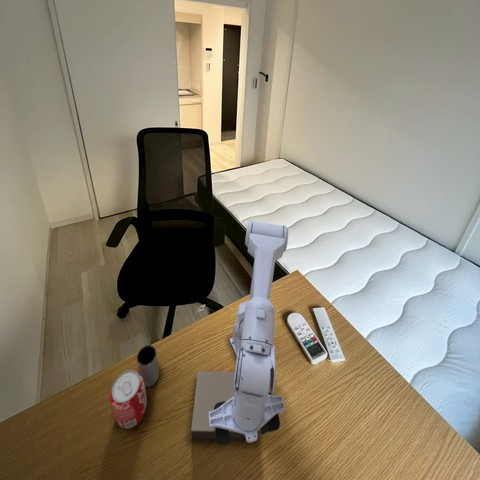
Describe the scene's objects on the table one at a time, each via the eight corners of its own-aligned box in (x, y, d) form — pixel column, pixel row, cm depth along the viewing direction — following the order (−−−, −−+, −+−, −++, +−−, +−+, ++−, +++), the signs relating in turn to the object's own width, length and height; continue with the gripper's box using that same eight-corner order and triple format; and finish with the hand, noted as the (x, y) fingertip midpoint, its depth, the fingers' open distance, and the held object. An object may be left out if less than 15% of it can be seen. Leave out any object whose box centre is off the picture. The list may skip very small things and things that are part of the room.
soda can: (140, 384, 64) (135, 359, 58) (153, 411, 59) (148, 386, 54) (111, 409, 59) (103, 384, 54) (123, 440, 54) (115, 416, 49)
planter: (137, 376, 65) (133, 354, 61) (153, 362, 68) (150, 340, 64) (146, 391, 62) (142, 370, 58) (162, 376, 65) (159, 354, 61)
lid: (257, 432, 53) (259, 423, 52) (190, 432, 53) (190, 422, 51) (254, 373, 63) (255, 364, 61) (197, 372, 62) (197, 363, 60)
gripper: (211, 439, 39) (209, 472, 45) (295, 418, 42) (283, 451, 48) (208, 385, 45) (206, 420, 51) (281, 370, 48) (272, 404, 54)
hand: (243, 432), depth 50 cm, fingers open, 7 cm apart
